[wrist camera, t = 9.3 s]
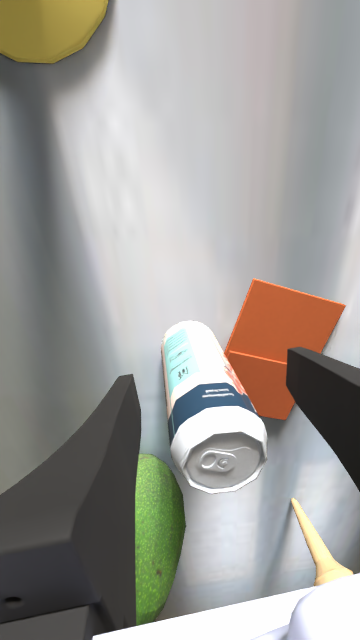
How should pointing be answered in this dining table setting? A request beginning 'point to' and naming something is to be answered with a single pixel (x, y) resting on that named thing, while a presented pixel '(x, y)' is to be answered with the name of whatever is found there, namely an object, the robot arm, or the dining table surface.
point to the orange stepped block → (276, 341)
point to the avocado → (156, 535)
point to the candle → (47, 28)
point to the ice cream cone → (319, 551)
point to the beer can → (209, 413)
